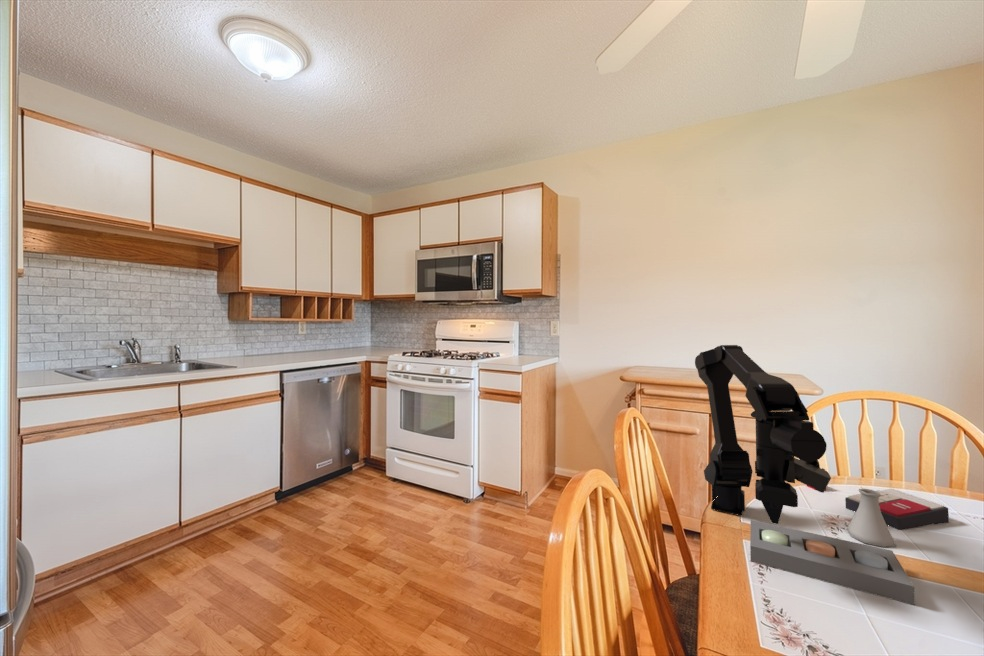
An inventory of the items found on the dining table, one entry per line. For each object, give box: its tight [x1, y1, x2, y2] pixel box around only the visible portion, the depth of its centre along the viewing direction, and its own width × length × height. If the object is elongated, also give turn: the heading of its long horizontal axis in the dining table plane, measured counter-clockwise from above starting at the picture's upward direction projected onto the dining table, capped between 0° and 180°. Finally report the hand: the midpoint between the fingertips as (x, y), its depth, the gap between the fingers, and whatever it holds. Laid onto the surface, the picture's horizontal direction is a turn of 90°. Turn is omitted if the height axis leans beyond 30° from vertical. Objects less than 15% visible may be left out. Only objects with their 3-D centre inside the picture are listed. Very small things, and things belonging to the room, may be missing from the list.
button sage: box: [762, 530, 788, 546], centre depth 77 cm, size 4×4×3 cm
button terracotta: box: [806, 540, 835, 558], centre depth 73 cm, size 4×4×3 cm
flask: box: [846, 488, 897, 548], centre depth 82 cm, size 7×7×10 cm
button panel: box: [749, 519, 916, 606], centre depth 73 cm, size 22×12×3 cm, turn 56°
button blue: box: [855, 551, 888, 570], centre depth 69 cm, size 4×4×3 cm
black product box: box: [845, 488, 950, 531], centre depth 92 cm, size 11×4×15 cm
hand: (774, 522), depth 77 cm, fingers closed
